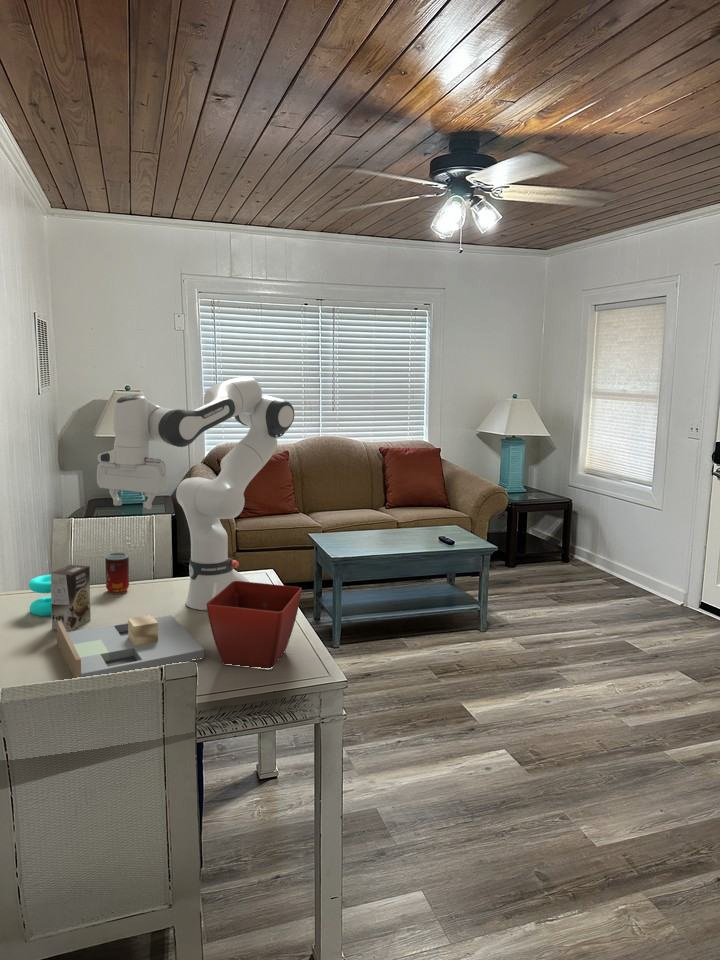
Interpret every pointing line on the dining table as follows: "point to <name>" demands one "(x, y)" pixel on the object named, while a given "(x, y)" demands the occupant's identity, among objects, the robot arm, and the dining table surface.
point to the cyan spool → (43, 604)
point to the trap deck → (125, 648)
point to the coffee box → (70, 596)
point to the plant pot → (253, 622)
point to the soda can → (117, 573)
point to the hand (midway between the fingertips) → (132, 507)
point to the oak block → (142, 630)
